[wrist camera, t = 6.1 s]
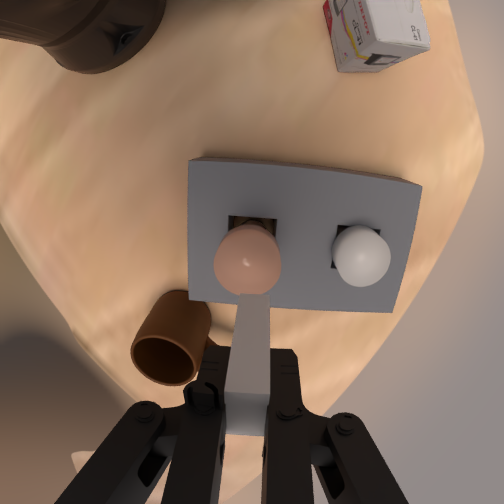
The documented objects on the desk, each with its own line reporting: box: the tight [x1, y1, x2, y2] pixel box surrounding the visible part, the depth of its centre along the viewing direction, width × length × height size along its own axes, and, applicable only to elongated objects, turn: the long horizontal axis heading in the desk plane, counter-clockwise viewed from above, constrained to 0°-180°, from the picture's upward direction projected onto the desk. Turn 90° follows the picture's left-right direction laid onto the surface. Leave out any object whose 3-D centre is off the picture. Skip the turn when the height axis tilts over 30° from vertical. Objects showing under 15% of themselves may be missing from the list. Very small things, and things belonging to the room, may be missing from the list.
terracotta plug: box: [213, 220, 281, 295], centre depth 26 cm, size 5×5×8 cm
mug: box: [131, 291, 220, 386], centre depth 33 cm, size 12×8×9 cm, turn 71°
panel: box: [187, 157, 422, 313], centre depth 30 cm, size 14×22×5 cm, turn 86°
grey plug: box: [332, 225, 391, 287], centre depth 28 cm, size 5×5×8 cm
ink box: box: [323, 0, 430, 72], centre depth 19 cm, size 9×5×12 cm, turn 8°
